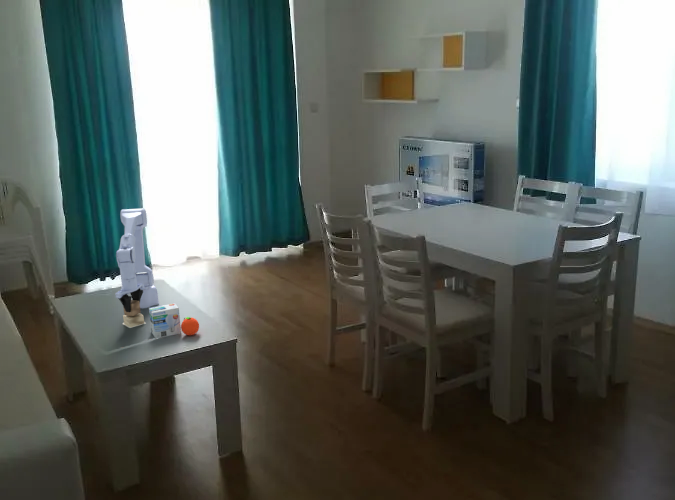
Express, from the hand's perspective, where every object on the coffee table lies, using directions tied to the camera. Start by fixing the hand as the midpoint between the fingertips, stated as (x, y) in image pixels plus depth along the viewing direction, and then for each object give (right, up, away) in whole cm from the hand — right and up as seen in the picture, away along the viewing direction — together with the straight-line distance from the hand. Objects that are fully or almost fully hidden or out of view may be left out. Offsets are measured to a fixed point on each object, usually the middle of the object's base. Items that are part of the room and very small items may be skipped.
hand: (132, 309), depth 268 cm
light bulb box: (+16, -9, -8) cm, 20 cm away
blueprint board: (-3, -6, +3) cm, 8 cm away
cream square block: (0, -6, +1) cm, 6 cm away
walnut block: (0, -2, 0) cm, 2 cm away
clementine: (+26, -9, -10) cm, 29 cm away
